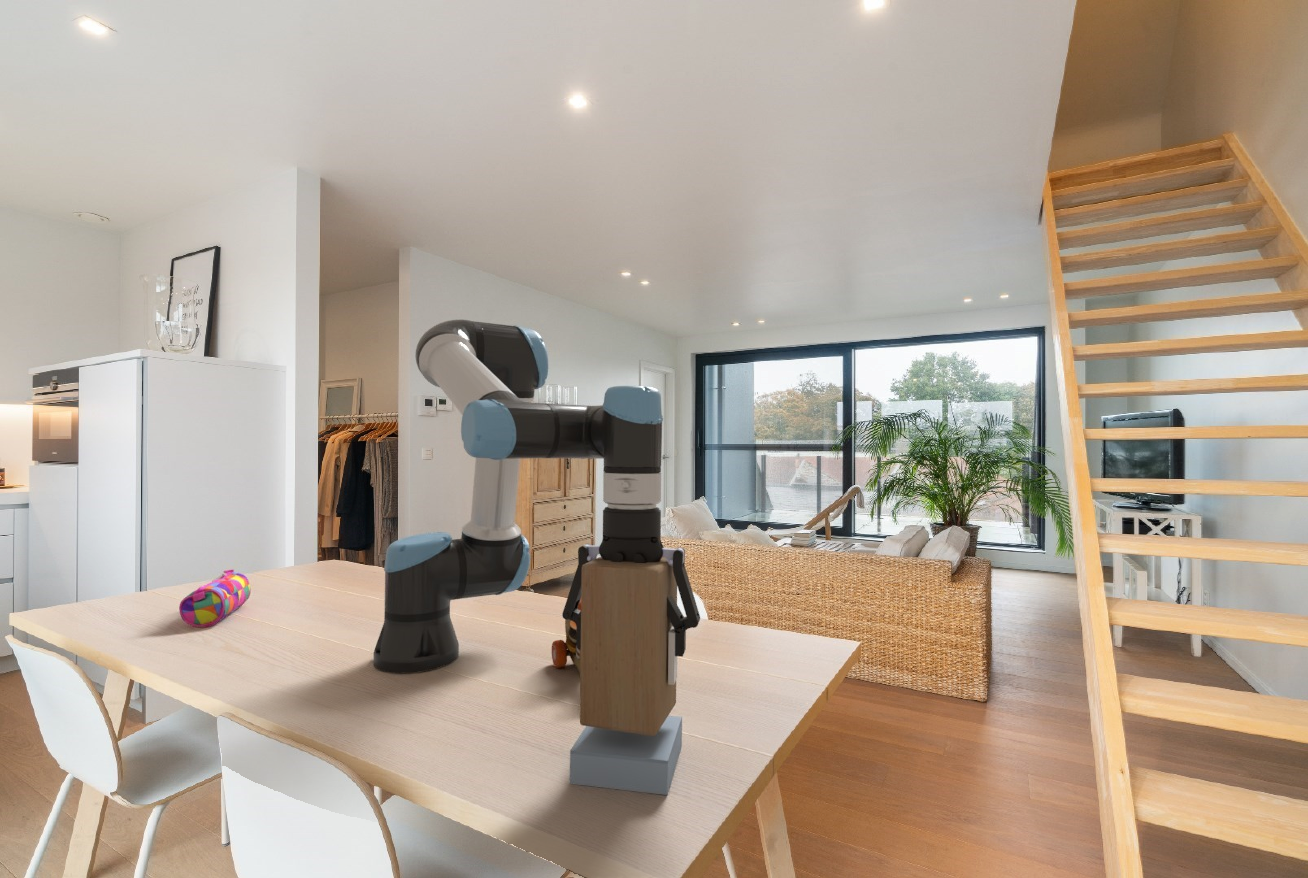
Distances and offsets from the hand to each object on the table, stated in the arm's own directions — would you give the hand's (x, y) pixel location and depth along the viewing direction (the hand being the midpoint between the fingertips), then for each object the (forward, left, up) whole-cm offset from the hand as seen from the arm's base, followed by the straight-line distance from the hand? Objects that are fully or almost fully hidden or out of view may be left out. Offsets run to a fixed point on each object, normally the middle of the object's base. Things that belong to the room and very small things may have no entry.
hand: (630, 677), depth 79 cm
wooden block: (0, 0, -5) cm, 5 cm away
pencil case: (-110, +46, -12) cm, 119 cm away
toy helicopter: (-15, +28, -11) cm, 34 cm away
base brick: (0, 0, -11) cm, 11 cm away
